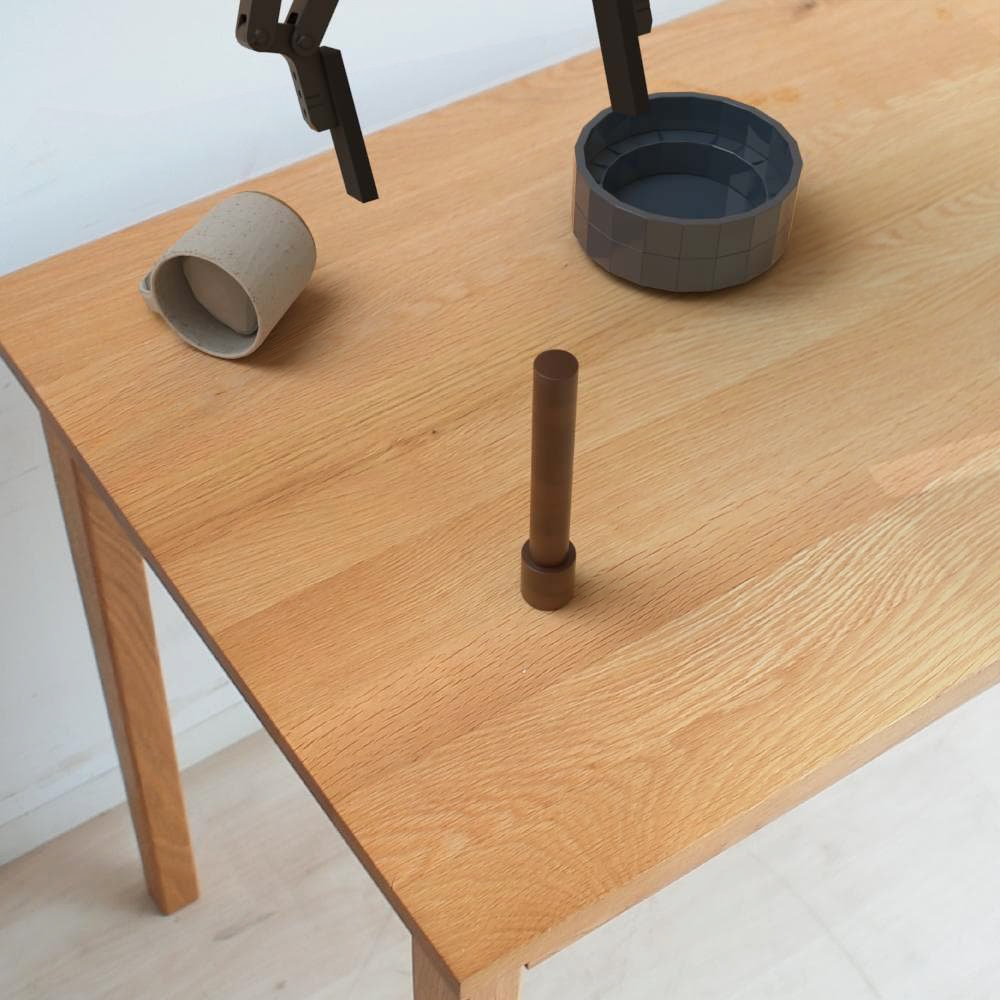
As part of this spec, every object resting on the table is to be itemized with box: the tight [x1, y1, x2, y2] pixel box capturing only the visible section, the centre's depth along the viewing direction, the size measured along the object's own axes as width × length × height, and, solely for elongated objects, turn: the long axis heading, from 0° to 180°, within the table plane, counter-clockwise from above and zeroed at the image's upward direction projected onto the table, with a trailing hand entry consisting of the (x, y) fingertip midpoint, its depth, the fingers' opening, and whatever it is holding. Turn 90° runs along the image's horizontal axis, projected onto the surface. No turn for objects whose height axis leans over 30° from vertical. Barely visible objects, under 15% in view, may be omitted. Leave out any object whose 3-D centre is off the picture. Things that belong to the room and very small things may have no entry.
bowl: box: [570, 91, 804, 293], centre depth 93 cm, size 14×14×6 cm
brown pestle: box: [520, 348, 580, 611], centre depth 69 cm, size 3×3×16 cm
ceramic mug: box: [138, 190, 318, 360], centre depth 87 cm, size 11×8×8 cm
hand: (500, 154), depth 66 cm, fingers open, 13 cm apart
